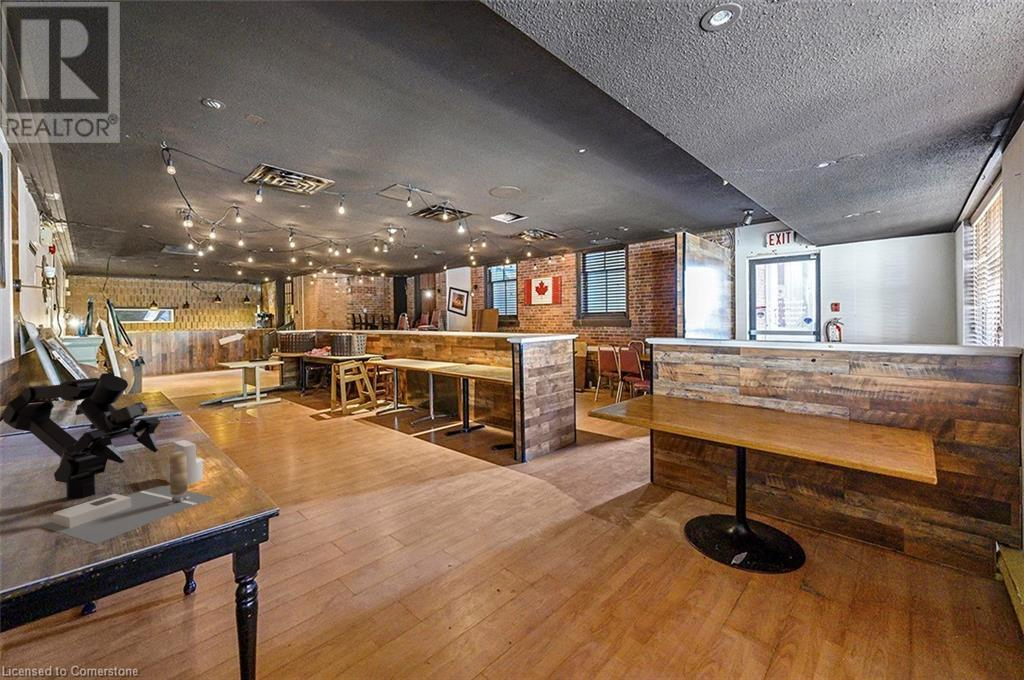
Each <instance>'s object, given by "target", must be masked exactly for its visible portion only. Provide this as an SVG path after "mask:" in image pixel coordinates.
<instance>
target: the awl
mask: <svg viewBox="0 0 1024 680" xmlns="http://www.w3.org/2000/svg"><path fill="white" fill-rule="evenodd" d="M168 457H169V463H170V482H169V487H170V493H171V494H172V502H173V503H178V502H182V501H185V500H186V491H188V485H187V453H186V451H179V452H174V451H173V452H171V453H169V455H168Z"/></svg>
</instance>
